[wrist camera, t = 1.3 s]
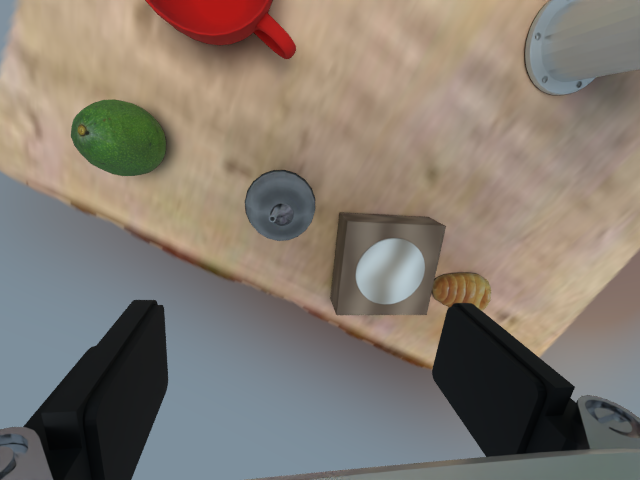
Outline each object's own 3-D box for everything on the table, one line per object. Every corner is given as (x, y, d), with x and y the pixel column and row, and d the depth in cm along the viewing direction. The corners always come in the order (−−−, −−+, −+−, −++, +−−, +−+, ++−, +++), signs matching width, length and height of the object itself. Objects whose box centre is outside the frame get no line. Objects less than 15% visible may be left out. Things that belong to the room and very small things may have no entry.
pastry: (423, 301, 53) (434, 313, 49) (436, 265, 51) (448, 274, 47) (471, 308, 55) (485, 320, 51) (485, 273, 53) (500, 283, 49)
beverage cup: (280, 223, 45) (287, 288, 26) (240, 189, 42) (215, 232, 23) (315, 186, 44) (348, 225, 25) (276, 149, 41) (280, 160, 23)
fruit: (162, 98, 38) (116, 83, 26) (184, 164, 40) (150, 176, 29) (95, 110, 37) (18, 100, 26) (122, 177, 40) (63, 193, 28)
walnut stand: (428, 217, 48) (447, 226, 43) (412, 298, 52) (427, 316, 47) (339, 212, 45) (348, 222, 40) (330, 298, 50) (337, 316, 45)
